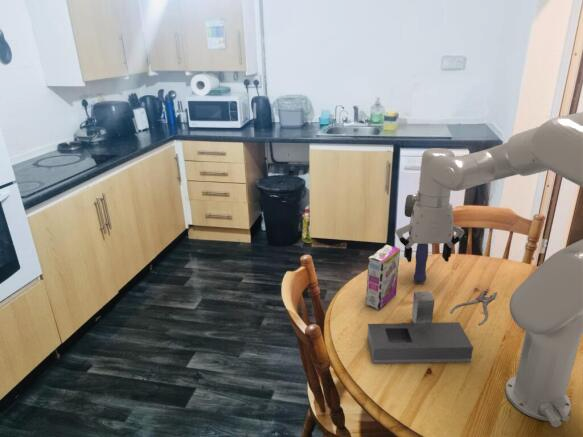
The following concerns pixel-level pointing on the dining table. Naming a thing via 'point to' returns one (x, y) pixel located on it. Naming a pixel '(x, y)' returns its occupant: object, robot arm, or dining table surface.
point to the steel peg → (422, 307)
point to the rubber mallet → (421, 248)
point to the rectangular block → (419, 343)
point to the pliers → (479, 299)
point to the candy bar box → (382, 276)
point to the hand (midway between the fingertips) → (426, 259)
